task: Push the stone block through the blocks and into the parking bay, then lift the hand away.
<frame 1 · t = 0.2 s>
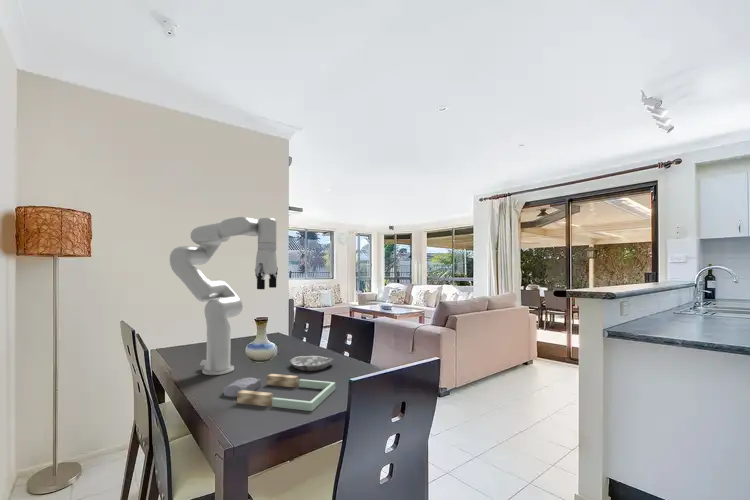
hand: (266, 288, 150), 36 cm above the table, tool pointing down, fingers open, 9 cm apart
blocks: (269, 393, 129), on the table
stone block: (241, 392, 132), on the table
brain slice: (310, 367, 162), on the table
parking bay: (305, 397, 126), on the table
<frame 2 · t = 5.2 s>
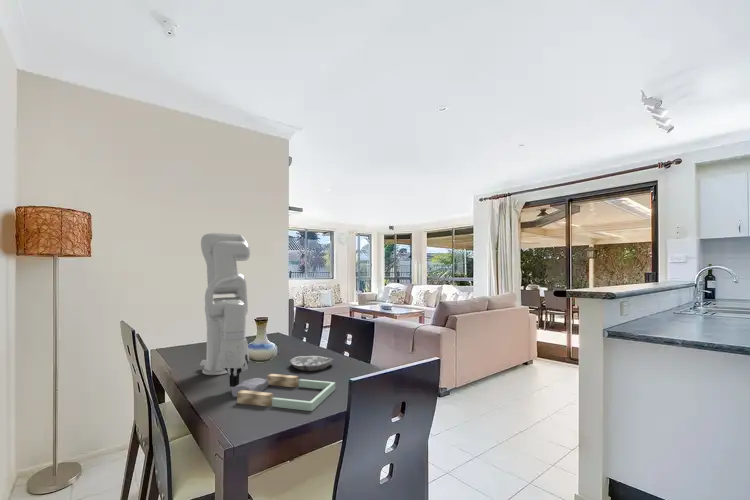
hand: (234, 385, 133), 2 cm above the table, tool pointing down, fingers closed
stone block: (249, 392, 132), on the table
everything else where it was.
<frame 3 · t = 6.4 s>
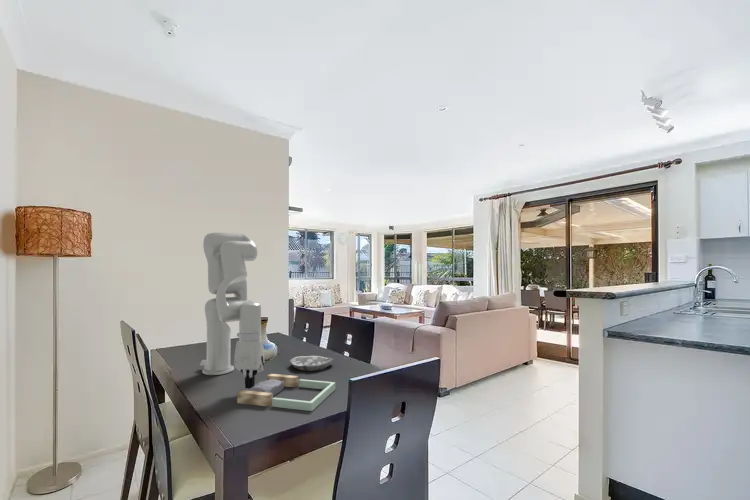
hand: (249, 387, 131), 2 cm above the table, tool pointing down, fingers closed
stone block: (264, 394, 130), on the table, touching gripper
everything else where it was.
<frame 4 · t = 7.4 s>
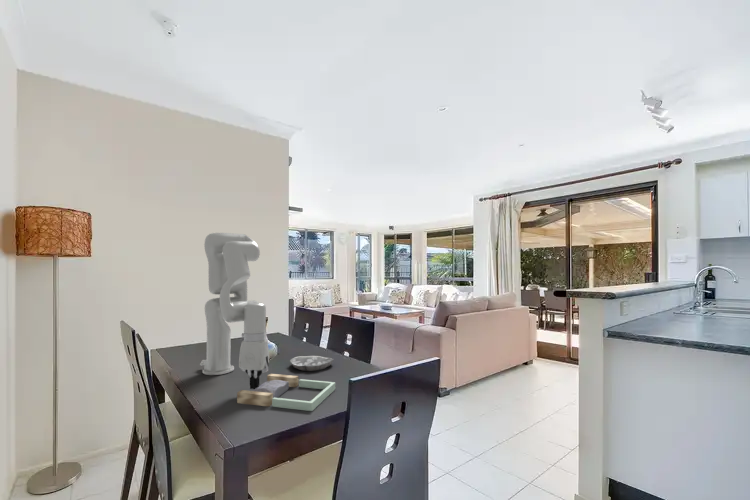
hand: (254, 387, 131), 2 cm above the table, tool pointing down, fingers closed
stone block: (269, 394, 129), on the table, touching gripper
everything else where it was.
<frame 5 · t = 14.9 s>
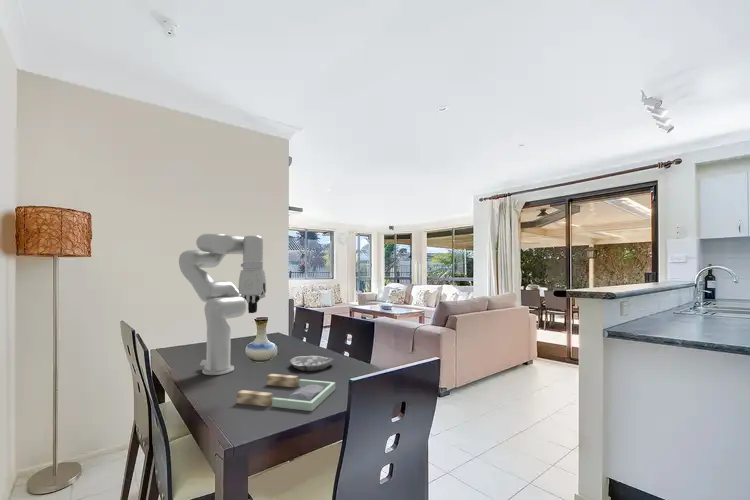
hand: (252, 312, 143), 27 cm above the table, tool pointing down, fingers closed
stone block: (306, 400, 124), on the table
everything else where it was.
at the end: stone block inside the target area (1.1 cm from its centre), on the table; stone block tilted 0°; stone block moved 26.9 cm from its start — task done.
